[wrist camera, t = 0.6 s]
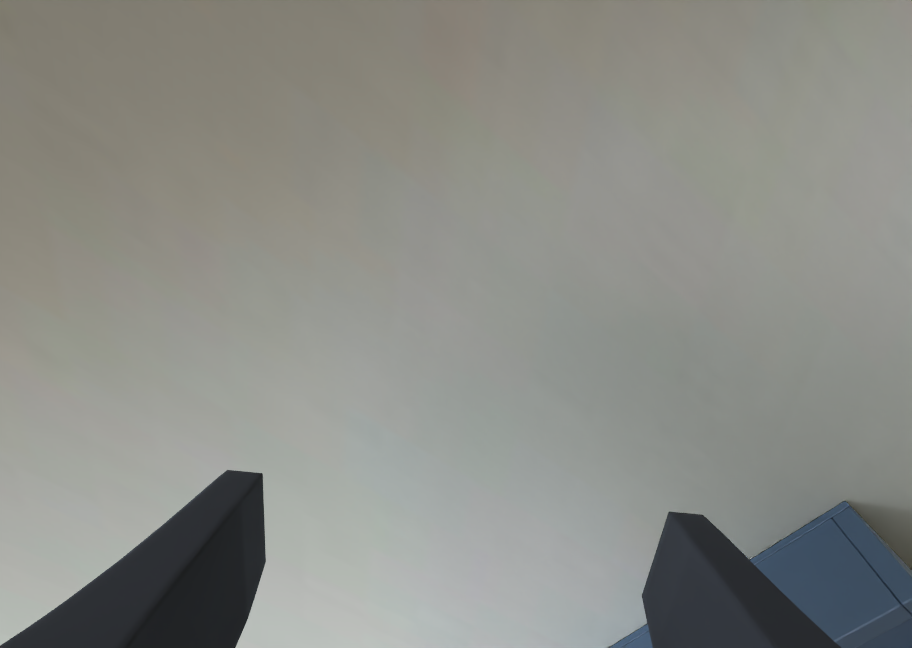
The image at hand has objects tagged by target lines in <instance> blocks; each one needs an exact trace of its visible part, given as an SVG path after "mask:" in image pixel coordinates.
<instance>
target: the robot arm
mask: <svg viewBox="0 0 912 648" xmlns="http://www.w3.org/2000/svg"><path fill="white" fill-rule="evenodd" d="M265 562H266V559H265V531H264V503H263V475H262V473H252V472H242V471H231V470H227V471H226V472H224V473H223V474H222V475H221V476H219V477H218V478H217V479H216V480H215V481H213V482H212V483H211V484H210V485H209V486H208V487H206V488H205V489H204V490H203V491H202V492H201V493H200V494H198V495H197V496H196V497H195V498H194V499H193V500H191V501H190V502H189V503H188V504H187V505H186V506H184V507H183V508H182V509H181V510H180V511H179V512H177V513H176V514H175V515H174V516H173V517H172V518H170V519H169V520H168V521H167V522H166V523H165V524H163V525H162V526H161V527H160V528H159V529H157V530H156V531H155V532H154V533H152V534H151V535H150V536H149V537H148V538H146V539H145V540H144V541H143V542H141V543H140V544H139V545H138V546H137V547H135V548H134V549H133V550H132V551H130V552H129V553H128V554H127V555H126V556H124V557H123V558H122V559H120V560H119V561H118V562H117V563H115V564H114V565H113V566H111V567H110V568H109V569H107V570H106V571H105V572H104V573H102V574H101V575H100V576H98V577H97V578H96V579H94V580H93V581H92V582H90V583H89V584H88V585H86V586H85V587H84V588H82V589H81V590H80V591H78V592H77V593H76V594H74V595H73V596H72V597H70V598H69V599H68V600H66V601H65V602H64V603H62V604H61V605H59V606H58V607H57V608H55V609H54V610H52V611H51V612H49V613H48V614H47V615H45V616H44V617H42V618H41V619H40V620H38V621H37V622H35V623H34V624H32V625H31V626H29V627H28V628H26V629H25V630H23V631H22V632H20V633H19V634H17V635H16V636H14V637H13V638H11V639H10V640H8V641H7V642H5V643H4V644H2V645H1V646H0V648H235V647H236V645H237V642H238V640H239V638H240V635H241V633H242V631H243V628H244V626H245V624H246V621H247V619H248V616H249V613H250V610H251V607H252V604H253V601H254V598H255V594H256V591H257V588H258V585H259V581H260V578H261V575H262V572H263V568H264V565H265ZM642 598H643V603H644V608H645V613H646V618H647V624H648V629H649V633H650V637H651V642H652V646H653V648H841V647H840V646H839V645H838V644H837V643H836V642H834V641H833V640H832V639H831V638H830V637H829V636H828V635H827V634H826V633H825V632H824V631H823V630H821V629H820V628H819V627H818V626H817V625H816V624H815V623H814V622H813V621H812V620H811V619H810V618H809V617H807V616H806V615H805V614H804V613H803V612H802V611H801V610H800V609H799V608H798V607H797V606H796V605H795V604H794V603H793V602H792V601H791V600H790V599H789V598H788V597H787V596H785V595H784V594H783V593H782V592H781V591H780V590H779V589H778V588H777V587H776V586H775V585H774V584H773V583H772V582H771V581H770V580H769V579H768V578H767V577H766V576H765V575H764V574H763V573H762V572H761V571H760V570H759V569H758V568H757V567H756V566H755V565H754V564H753V563H752V562H751V561H750V560H749V559H748V558H747V557H746V556H745V555H744V554H743V553H742V552H741V551H740V550H739V549H738V548H737V547H736V546H735V545H734V544H733V543H732V542H731V541H730V540H729V539H728V538H727V537H726V536H725V535H724V534H723V533H721V532H720V531H719V530H718V529H717V528H716V527H715V526H714V525H713V524H712V523H711V522H710V521H709V520H708V519H707V518H706V517H704V516H703V515H698V514H688V513H677V512H669V513H668V516H667V519H666V522H665V525H664V528H663V532H662V535H661V538H660V541H659V544H658V547H657V550H656V553H655V556H654V560H653V563H652V566H651V569H650V572H649V575H648V578H647V581H646V585H645V588H644V591H643V594H642Z"/></svg>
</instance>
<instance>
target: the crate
mask: <svg viewBox="0 0 912 648" xmlns="http://www.w3.org/2000/svg"><path fill="white" fill-rule="evenodd" d="M750 561H751V562H752V563H753V564H754V565H755V566H756V567H757V568H758V569H759V570H760V571H761V572H762V573H763V574H764V575H765V576H766V577H767V578H768V579H769V580H770V581H771V582H772V583H773V584H774V585H775V586H776V587H777V588H778V589H779V590H780V591H781V592H782V593H783V594H784V595H785V596H787V597H788V598H789V599H790V600H791V601H792V602H793V603H794V604H795V605H796V606H797V607H798V608H799V609H800V610H801V611H802V612H803V613H804V614H805V615H806V616H807V617H809V618H810V619H811V620H812V621H813V622H814V623H815V624H816V625H817V626H818V627H819V628H820V629H821V630H823V631H824V632H825V633H826V634H827V635H828V636H829V637H830V638H831V639H832V640H833V641H834V642H836V643H837V644H838V645H839V646H840V647H841V648H912V570H911V569H910V568H909V567H908V566H907V565H906V564H905V563H904V562H903V561H902V560H901V558H900V557H899V556H898V555H897V554H896V553H895V552H894V551H893V550H892V549H891V548H890V547H889V546H888V545H887V544H886V543H885V542H884V541H883V540H882V539H881V538H880V536H879V535H878V534H877V533H876V532H875V531H874V530H873V529H872V528H871V527H870V526H869V525H868V524H867V523H866V522H865V521H864V520H863V519H862V518H861V517H860V515H859V514H858V513H857V512H856V511H855V510H854V509H853V508H852V507H851V506H850V505H849V504H848V503H847V502H846V501H844V502H842V503H841V504H839V505H838V506H836V507H834V508H833V509H831V510H830V511H828V512H826V513H825V514H823V515H822V516H820V517H818V518H817V519H815V520H814V521H812V522H810V523H809V524H807V525H805V526H804V527H802V528H801V529H799V530H797V531H796V532H794V533H793V534H791V535H789V536H788V537H786V538H785V539H783V540H781V541H780V542H778V543H777V544H775V545H773V546H772V547H770V548H769V549H767V550H765V551H764V552H762V553H761V554H759V555H757V556H756V557H754V558H752V559H751V560H750ZM610 648H653V646H652V642H651V637H650V633H649V629H648V624H647V625H645V626H643V627H642V628H640V629H638V630H637V631H635V632H634V633H632V634H630V635H629V636H627V637H626V638H624V639H622V640H621V641H619V642H618V643H616V644H614V645H613V646H611V647H610Z"/></svg>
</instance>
